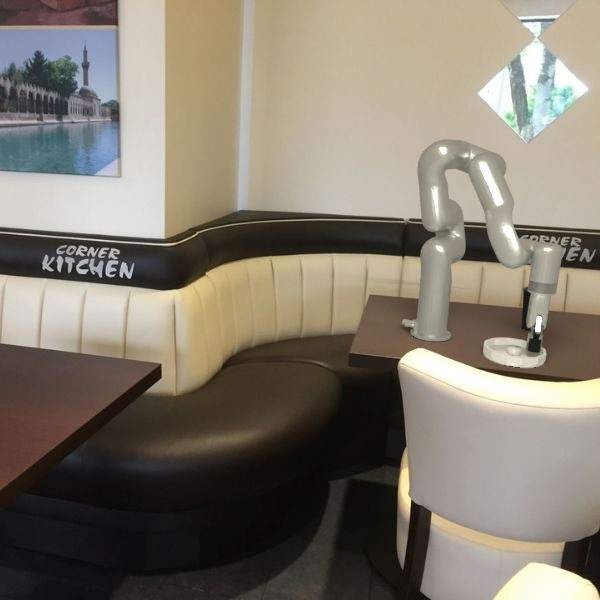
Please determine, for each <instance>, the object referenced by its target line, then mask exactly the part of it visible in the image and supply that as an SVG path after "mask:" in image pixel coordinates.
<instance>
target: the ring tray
mask: <svg viewBox="0 0 600 600" xmlns="http://www.w3.org/2000/svg"><path fill="white" fill-rule="evenodd" d="M483 342H484V343H483V347H482V348H483V349H482V355H483V357H485V359H487V360H489V361H491V362H492V363H495V364H498V365H502V366H504V365H506V366H505V367H509V366H513V367H512V368H515V367H520V368H519V369H535V368H534V367H536V368H540V367H542V366H544V364H545V362H546V359H547V350H546V348H544V347H543V346H541V352H539V353H533V352H529V351H527V350H526V345H527V340H525V339H522V338H521V339H520V338H512V337H507V336H506V337H491V338H488V339H486V340H484V341H483Z"/></svg>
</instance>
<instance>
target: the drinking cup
mask: <svg viewBox="0 0 600 600" xmlns="http://www.w3.org/2000/svg"><path fill="white" fill-rule="evenodd" d="M527 290H528V285H527V286H523V287H522V312H521V329H522V330H524V329H525V330H524V331H527V330H529V331H528V332H530V328H531V327H529V328H528V327H527V324H526V319H527V313H528V306H529V300H530V295H531V293H530V292H528V291H527Z"/></svg>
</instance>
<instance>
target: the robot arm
mask: <svg viewBox="0 0 600 600" xmlns="http://www.w3.org/2000/svg"><path fill="white" fill-rule="evenodd" d="M416 170H417V171H416V172H417V180H418V182H417V183H418V190H419V203H420V205H419V206H420V214H421V215H420V216H421V224H422V225H423V228H424V229H425V230H427V231H428V232H431V233H435V236H434V237H431V238H430V239H428V240H426V241H425V243H424V244H423V245H422V247H421V248H420V253H419V254H420V256H419V257H420V258H419V259H420V260H419V261H420V279H419V280H420V281H419V293H418V302H417V311H416V319H412V320H411V319H407V318H403V319H402V323H401V324H402V326H404V327H405V328H411V329H410V333H409V334H410V335H411V336H412V337H413V336H414V338H415V339H418V340H421V341H426V342H435V343H436V342H437V343H438V342H445V341H448V340H450V339H451V338H452V334H451V332H450V331H449V330H448V329H447V328H448V321H449V320H448V318H449V310H450V301H451V294H452V292H451V291H452V283H453V282H452V281H453V275H452V274H453V273H452V265H453V264H455V263H457V262H459V261H460V260H461V259H462V258H463V257H464V255H465V252H466V244H467V243H466V232H465V222H464V221H465V220H464V214H463V209H462V207H461V205H460V204H459V203H458V202H457V201H455V200H454V199H451V198H450V196H449V195H450V194H449V184H448V181H447V177H446V171H447V170H458V171H460V172H463V173H466V174H468V177H469V179H470V181H471V184H472V186H473V189H474V190H475V193H476V195H477V198H478V200H479V202H480V205H481V207H482V210H483V213H484V220H485V226H486V232H487V233H486V234H487V236H488V239H489V242H490V244H491V247H492V249H493V252H494V253H495V256H496V259H497V260H498V262H499V263H500V264H501V265H502V266H503V267H505V268H507V269H510V270H511V269H512V270H514V269H518V268H520V267H522V266H526V265H530V270H529V275H528V282H527V284H528V285H527V286H528V290H527V291H528V292H530V293H531V295H530V300H529V306H528V313H527V319H526V324H527V327H528V328H529V327H531V328H530V331H529V332H531V338H530V337H529V344H528V351H529V352H536V353H539V352H540V347H542V346H541V340H542V339H541V336H542V334H543V331H544V330H545V329H547V323H548V317H549V313H550V306H551V301H552V300H551V299H552V296H556V295H557V291H558V283H559V277H560V272H561V265H562V258H563V251H564V249H563V247H562V245H560V244H558V243H553V242H543V241H537V240H533V239H529V238H525V237H520V238H519V235H518V234H517V231H516V229H515V226H514V221H513V211H514V207H515V199H514V197H513V195H512V192H511V190H510V188H509V186H508V183H507V181H506V179H505V174H506V172H507V163H506V160H505V158H504V157H503V156H502V155H500V154H499V153H496V152H493V151H492V150H489V149H485V148H483V147H481V146H478V145H476V144H473V143H471V142H468V141H464V140H460V139H449V138H448V139H440V140H437V141H434V142H433V143H431V144H429V145H428V146H427V147H426V148H425V149H424V150H423V151H422V153H421V155H420V156H419V159H418V161H417V168H416ZM542 341H543V340H542Z"/></svg>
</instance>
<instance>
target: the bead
mask: <svg viewBox="0 0 600 600" xmlns="http://www.w3.org/2000/svg"><path fill="white" fill-rule="evenodd" d="M529 337H530V338H531V332H530V331H528V334H527V339H526V341H527V345H526V350H527V351H528V344H529ZM543 338H544V333H542V336H541V339H542V340H541V347H543V346H542V345H543ZM541 347H540V352H541ZM533 353H536V352H533Z"/></svg>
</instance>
